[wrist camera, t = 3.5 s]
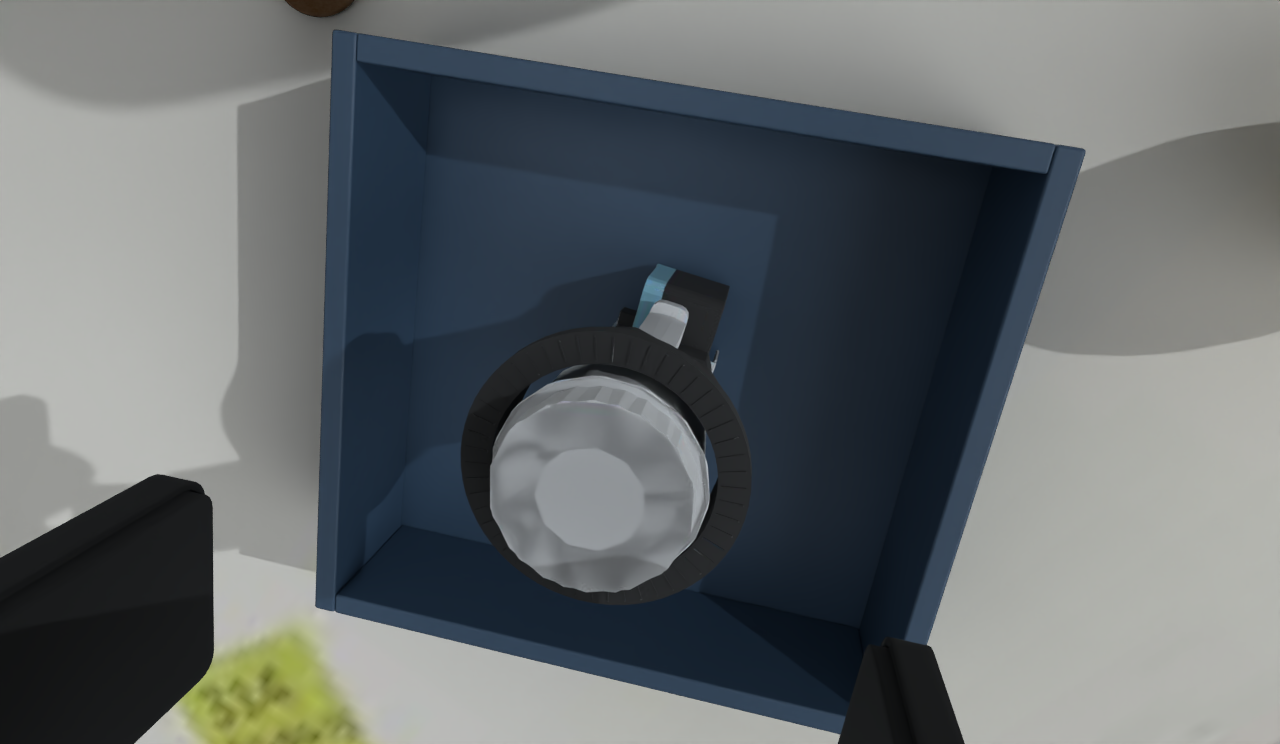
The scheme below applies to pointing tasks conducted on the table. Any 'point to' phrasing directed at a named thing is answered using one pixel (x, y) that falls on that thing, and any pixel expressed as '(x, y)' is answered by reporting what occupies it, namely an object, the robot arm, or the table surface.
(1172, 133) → the table surface
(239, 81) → the table surface
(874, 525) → the bin
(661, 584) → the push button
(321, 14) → the place setting
